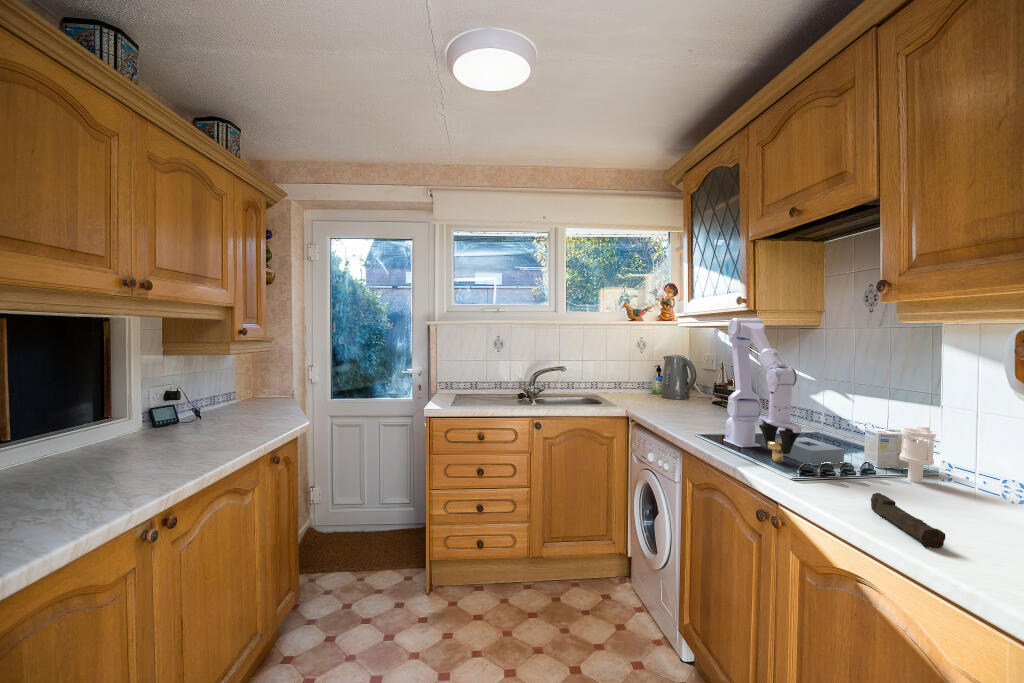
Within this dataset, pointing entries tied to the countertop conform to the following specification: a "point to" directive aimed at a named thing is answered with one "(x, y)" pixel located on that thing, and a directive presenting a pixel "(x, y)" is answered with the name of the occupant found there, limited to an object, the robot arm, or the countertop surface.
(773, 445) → the brass door knob
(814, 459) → the block
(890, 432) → the light bulb box
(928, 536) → the brown wooden log
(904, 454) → the strainer
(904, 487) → the countertop surface
